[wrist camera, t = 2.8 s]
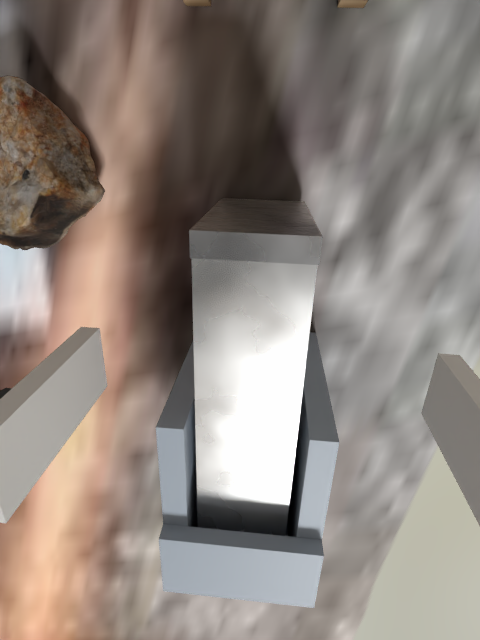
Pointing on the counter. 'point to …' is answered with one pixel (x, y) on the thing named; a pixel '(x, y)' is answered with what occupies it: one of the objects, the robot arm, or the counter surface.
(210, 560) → the grey u-shaped block
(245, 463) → the light grey long block
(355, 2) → the cardboard box
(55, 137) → the rock
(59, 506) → the counter surface
